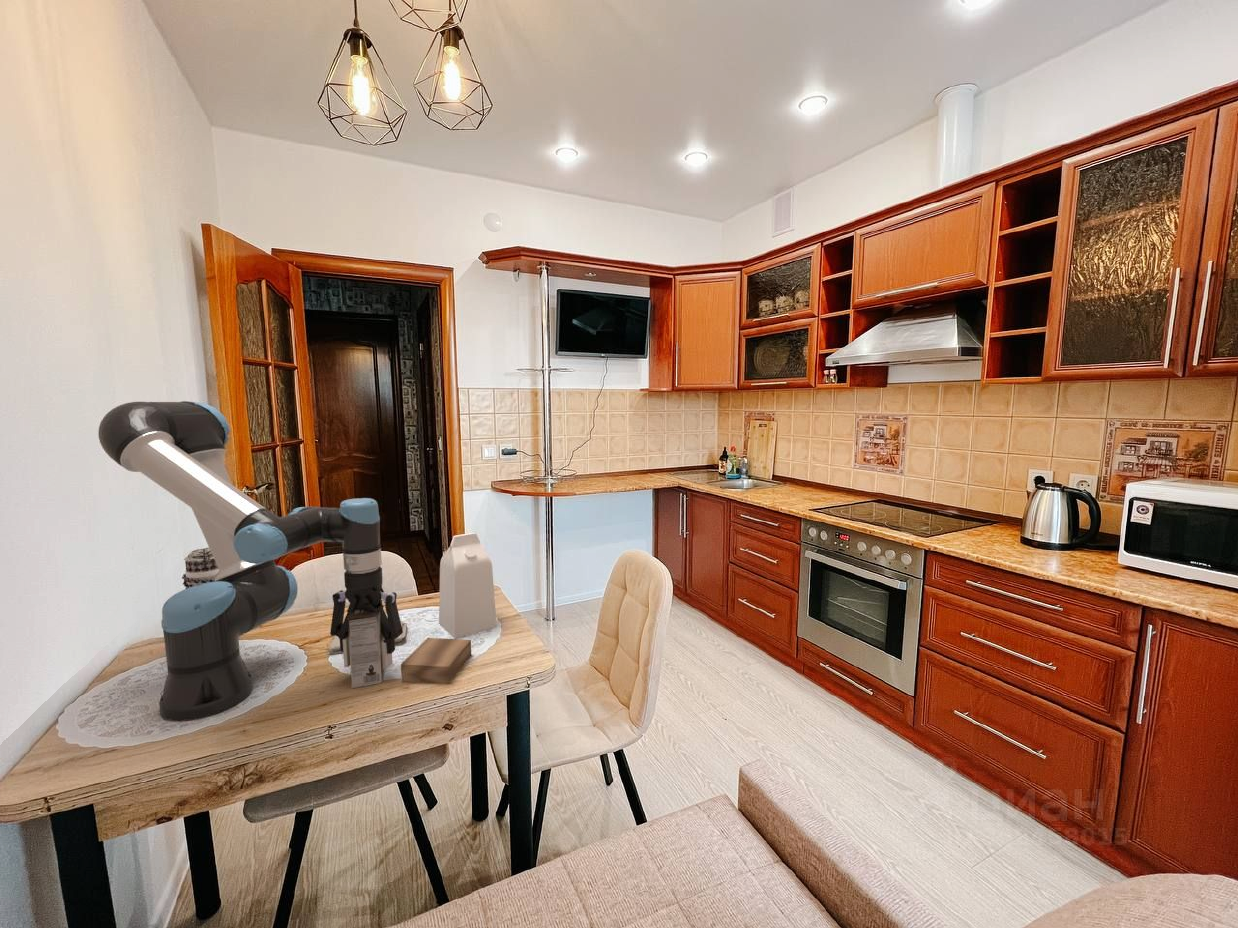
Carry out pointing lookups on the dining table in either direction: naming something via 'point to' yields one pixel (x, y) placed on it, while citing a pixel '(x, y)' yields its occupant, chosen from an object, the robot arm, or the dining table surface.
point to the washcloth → (335, 649)
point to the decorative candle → (200, 568)
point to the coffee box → (365, 647)
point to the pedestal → (436, 661)
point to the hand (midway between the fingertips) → (368, 665)
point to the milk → (466, 588)
